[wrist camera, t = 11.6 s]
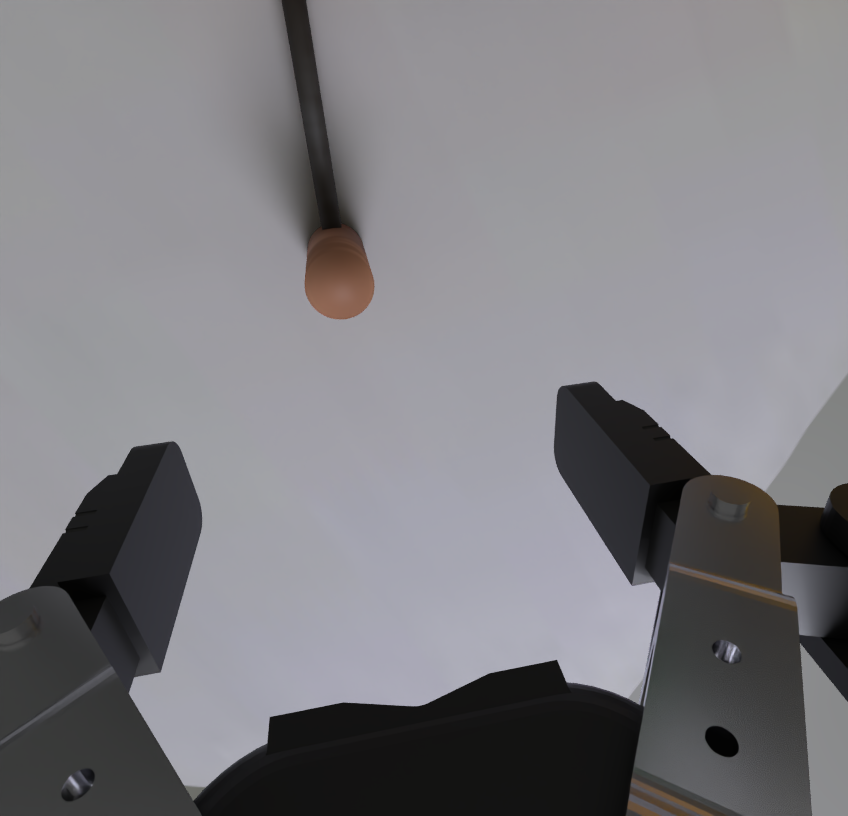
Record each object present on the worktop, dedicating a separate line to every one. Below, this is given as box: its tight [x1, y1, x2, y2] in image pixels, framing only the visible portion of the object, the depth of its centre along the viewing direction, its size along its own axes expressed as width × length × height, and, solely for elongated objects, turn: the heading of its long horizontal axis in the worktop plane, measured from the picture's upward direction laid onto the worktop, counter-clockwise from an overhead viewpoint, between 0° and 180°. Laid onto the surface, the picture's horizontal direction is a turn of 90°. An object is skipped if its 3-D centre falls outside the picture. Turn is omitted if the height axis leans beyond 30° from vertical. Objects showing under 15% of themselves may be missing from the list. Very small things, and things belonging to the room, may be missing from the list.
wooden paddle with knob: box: [282, 0, 374, 319], centre depth 21 cm, size 6×23×7 cm, turn 5°
